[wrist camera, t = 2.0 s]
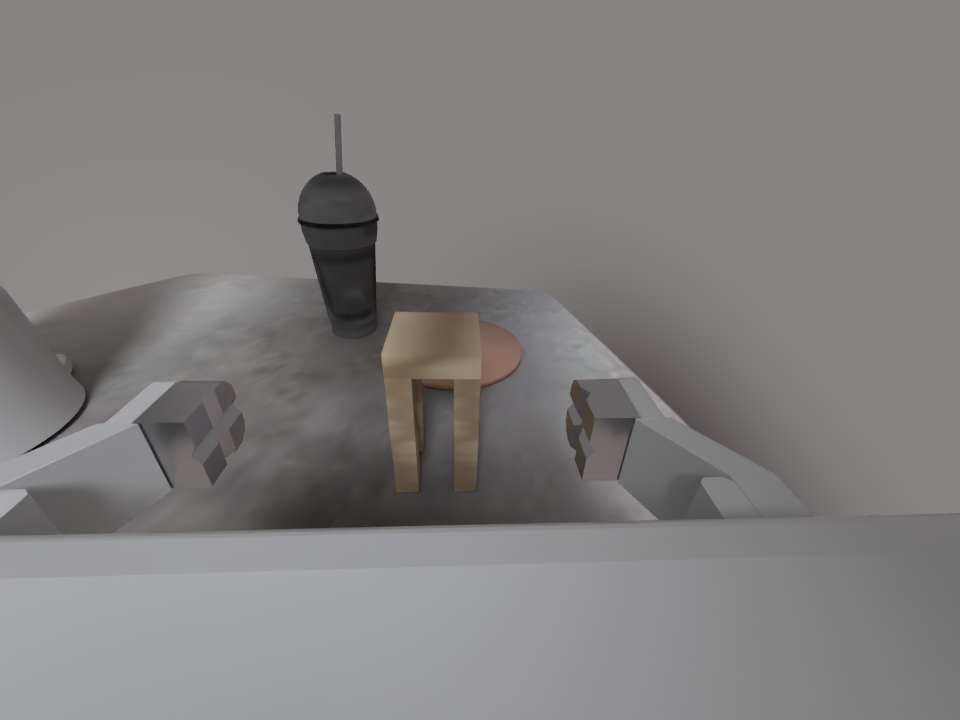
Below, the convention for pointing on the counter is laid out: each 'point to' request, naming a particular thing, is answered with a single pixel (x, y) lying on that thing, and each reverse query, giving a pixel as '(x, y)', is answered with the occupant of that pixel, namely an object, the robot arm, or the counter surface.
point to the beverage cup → (342, 245)
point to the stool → (406, 361)
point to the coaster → (490, 357)
